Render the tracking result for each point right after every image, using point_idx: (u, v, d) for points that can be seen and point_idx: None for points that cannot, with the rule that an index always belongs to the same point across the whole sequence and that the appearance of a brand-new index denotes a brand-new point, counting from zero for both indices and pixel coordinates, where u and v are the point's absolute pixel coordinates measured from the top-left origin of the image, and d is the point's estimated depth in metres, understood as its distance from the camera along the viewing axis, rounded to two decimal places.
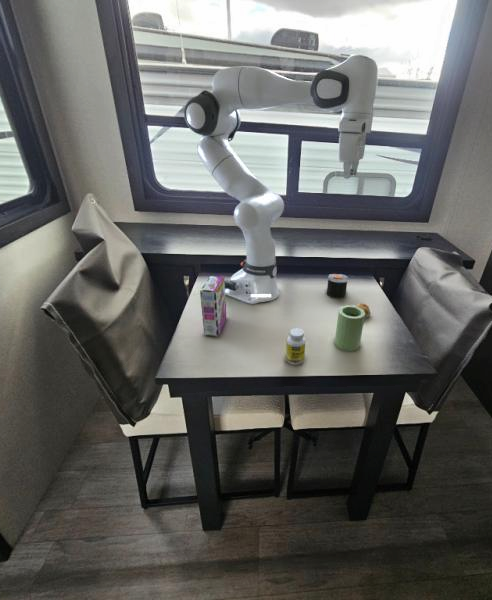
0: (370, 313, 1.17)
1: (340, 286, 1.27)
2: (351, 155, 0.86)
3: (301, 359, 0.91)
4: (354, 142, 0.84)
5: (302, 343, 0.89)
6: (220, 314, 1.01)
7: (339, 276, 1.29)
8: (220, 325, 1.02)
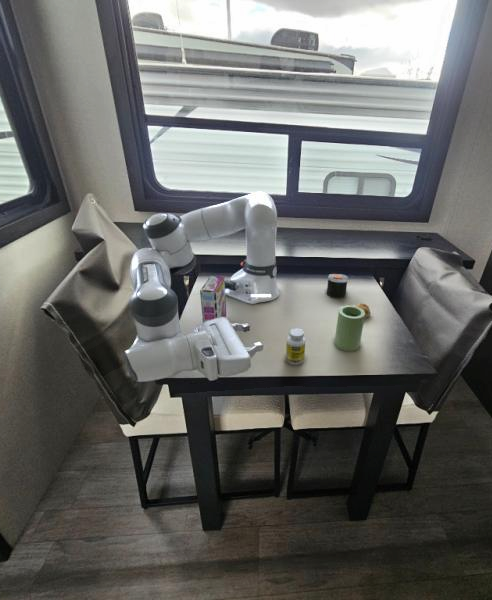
0: (370, 313, 1.17)
1: (340, 286, 1.27)
2: (243, 360, 0.71)
3: (301, 359, 0.91)
4: (229, 361, 0.70)
5: (302, 343, 0.89)
6: (220, 314, 1.01)
7: (339, 276, 1.29)
8: None
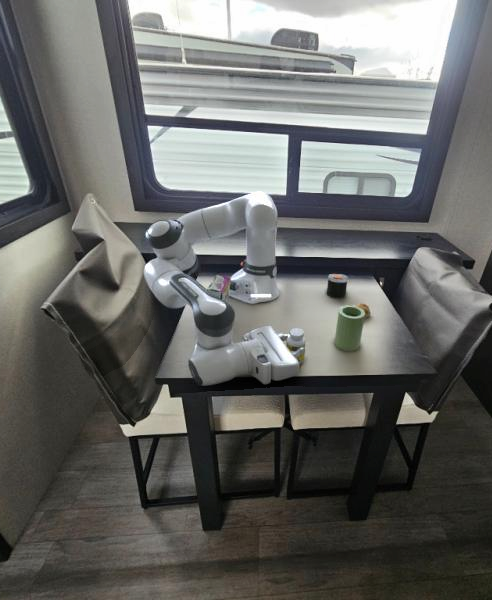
0: (370, 313, 1.17)
1: (340, 286, 1.27)
2: (293, 365, 0.80)
3: (301, 359, 0.91)
4: (281, 367, 0.79)
5: (302, 343, 0.89)
6: None
7: (339, 276, 1.29)
8: None
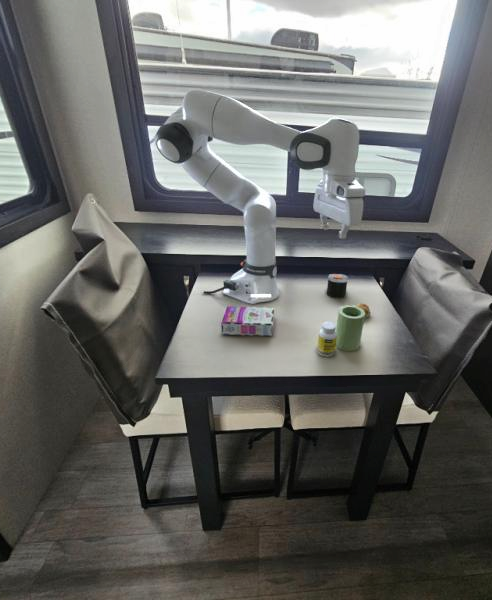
0: (370, 313, 1.17)
1: (340, 286, 1.27)
2: None
3: (332, 351, 0.95)
4: (362, 207, 0.84)
5: (334, 336, 0.93)
6: None
7: (339, 276, 1.29)
8: None
